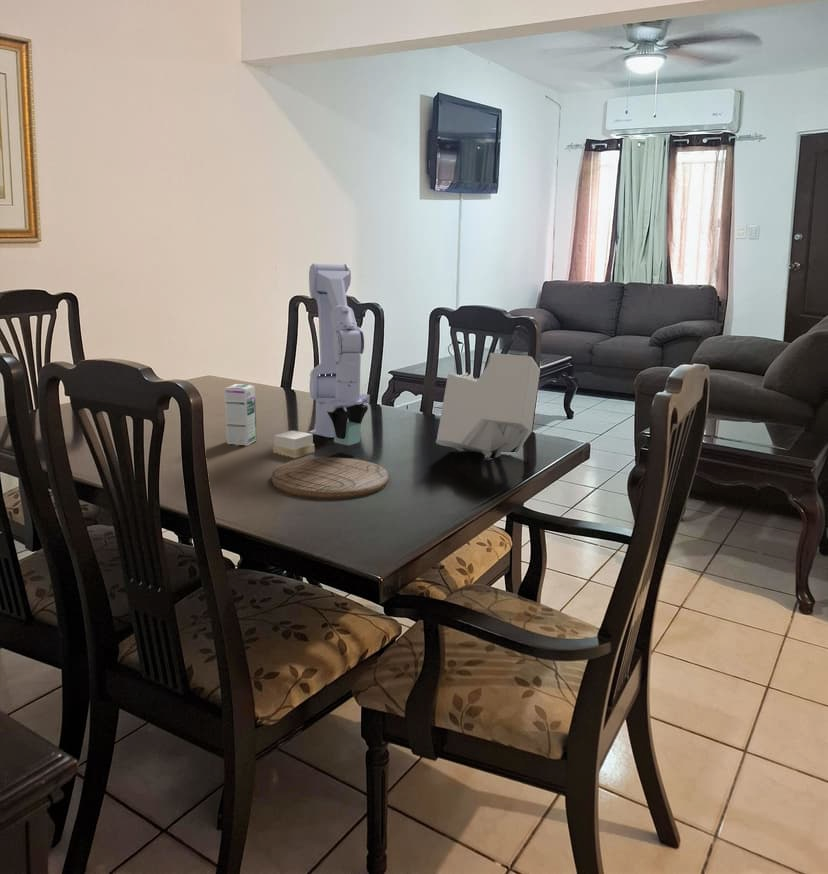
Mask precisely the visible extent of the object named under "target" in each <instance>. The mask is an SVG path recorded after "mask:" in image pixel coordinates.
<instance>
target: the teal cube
mask: <svg viewBox="0 0 828 874" xmlns="http://www.w3.org/2000/svg"><path fill="white" fill-rule="evenodd" d="M361 424H362V423H361ZM361 424H359V423H354V422H349V421H347V425H346V435H345V439H340V438H337V437H336V433H335V429H334V437H333V442H334V443H336V444H341V445H344V446H351V445H355V444H358V443H361V436H362V435H361V433H362V432H361V428H362V427H361Z"/></svg>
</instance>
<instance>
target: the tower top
mask: <svg viewBox="0 0 828 874" xmlns="http://www.w3.org/2000/svg"><path fill="white" fill-rule="evenodd" d="M313 440H314V434H311V433H309V432H304V431H298V430H292V429H291V430H288V431H285V432H282V433H278V434H274V435H273V443H274V444H273V445H275V446H280V447H285V448H289V449H294V450H296V449H299V448H302V447H306V446H309V445H312V444H314V441H313Z"/></svg>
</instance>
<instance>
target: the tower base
mask: <svg viewBox="0 0 828 874" xmlns="http://www.w3.org/2000/svg"><path fill="white" fill-rule="evenodd" d="M315 445H316V444H315V443H313V444H312V445H309V446H306V447H302V448H299V449H296V450H294V449H289V448H285V447H280V446H275V445H274V444H273V445H272V448H273V449H272V453H273V452H274V453H273V454H275V453H278V454H277V455H280V454H281V455H280V456H284V455H285V457H288V456H289V457H288V458H293V459H297V458H300V457H303V456H307V455H311V454H314V453H315V450H316V448H315Z"/></svg>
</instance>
